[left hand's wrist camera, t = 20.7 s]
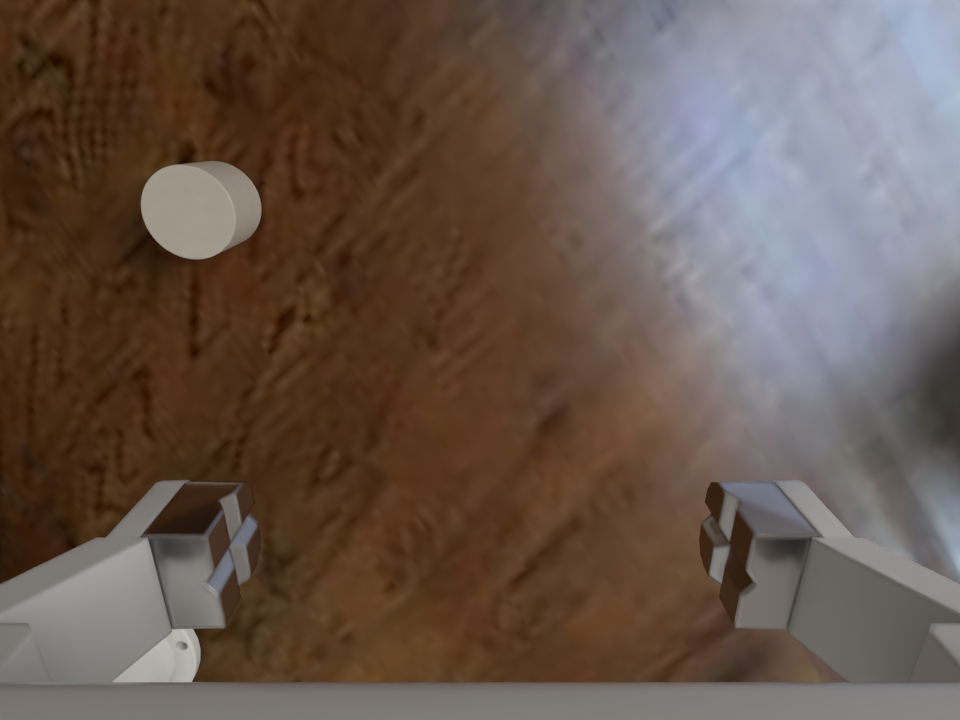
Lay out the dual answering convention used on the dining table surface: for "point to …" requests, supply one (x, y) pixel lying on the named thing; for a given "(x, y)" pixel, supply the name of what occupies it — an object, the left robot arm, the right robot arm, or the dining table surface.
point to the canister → (200, 208)
